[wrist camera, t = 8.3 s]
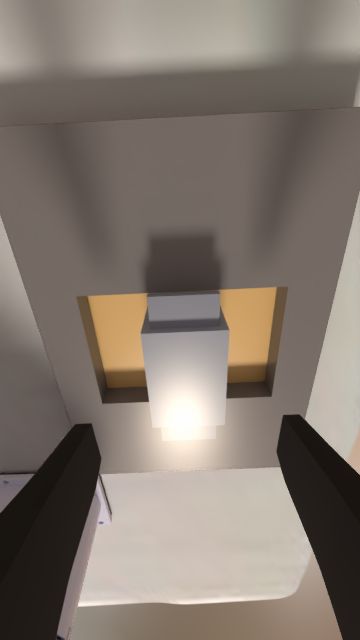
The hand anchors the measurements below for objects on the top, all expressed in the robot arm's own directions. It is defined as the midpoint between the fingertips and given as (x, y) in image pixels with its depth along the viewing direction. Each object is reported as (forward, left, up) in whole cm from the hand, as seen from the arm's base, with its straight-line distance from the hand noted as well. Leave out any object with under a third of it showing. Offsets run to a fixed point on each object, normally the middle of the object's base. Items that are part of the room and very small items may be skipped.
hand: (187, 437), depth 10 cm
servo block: (0, 0, -7) cm, 7 cm away
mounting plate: (0, 0, -8) cm, 8 cm away
